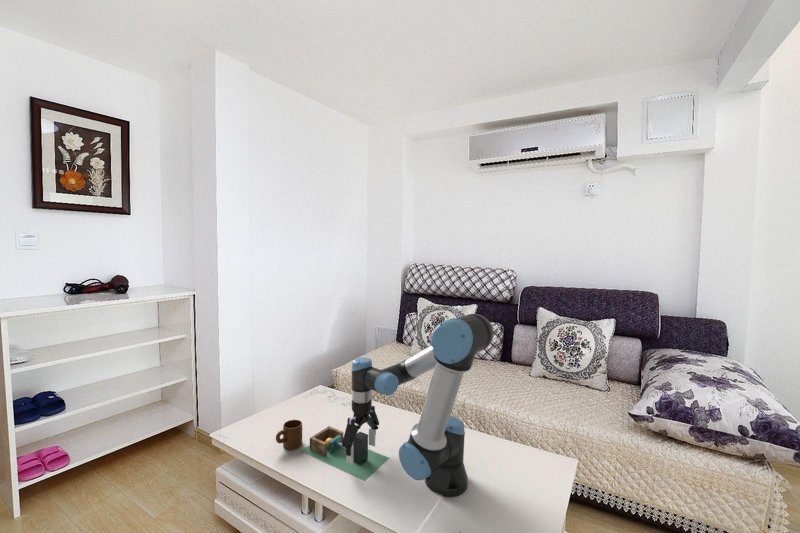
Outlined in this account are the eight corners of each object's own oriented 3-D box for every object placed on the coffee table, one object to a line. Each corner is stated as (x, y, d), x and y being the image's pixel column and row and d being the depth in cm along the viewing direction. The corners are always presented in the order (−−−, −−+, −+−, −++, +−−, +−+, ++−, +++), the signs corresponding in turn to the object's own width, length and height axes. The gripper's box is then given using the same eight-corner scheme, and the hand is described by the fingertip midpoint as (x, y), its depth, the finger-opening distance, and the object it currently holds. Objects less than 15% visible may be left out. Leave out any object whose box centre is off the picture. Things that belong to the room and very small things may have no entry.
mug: (282, 459, 138) (282, 435, 138) (269, 452, 142) (269, 430, 142) (306, 444, 149) (306, 422, 148) (293, 438, 153) (293, 417, 152)
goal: (343, 443, 149) (343, 431, 149) (324, 456, 140) (324, 444, 139) (328, 437, 153) (328, 426, 153) (309, 449, 144) (309, 438, 144)
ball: (335, 436, 146) (328, 435, 148) (328, 440, 143) (321, 440, 145) (337, 446, 146) (330, 445, 148) (330, 450, 143) (323, 450, 145)
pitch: (389, 459, 140) (389, 457, 140) (364, 482, 126) (364, 480, 126) (328, 434, 157) (328, 433, 157) (300, 452, 143) (300, 451, 143)
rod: (369, 458, 139) (369, 433, 138) (359, 466, 134) (360, 440, 133) (338, 445, 147) (338, 421, 146) (328, 452, 142) (328, 428, 141)
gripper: (373, 386, 148) (372, 435, 149) (331, 409, 127) (331, 467, 128) (388, 390, 144) (387, 441, 145) (347, 415, 123) (347, 474, 124)
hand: (361, 453), depth 137 cm, fingers open, 13 cm apart
